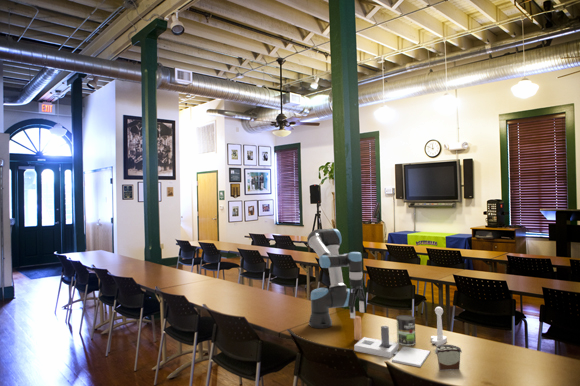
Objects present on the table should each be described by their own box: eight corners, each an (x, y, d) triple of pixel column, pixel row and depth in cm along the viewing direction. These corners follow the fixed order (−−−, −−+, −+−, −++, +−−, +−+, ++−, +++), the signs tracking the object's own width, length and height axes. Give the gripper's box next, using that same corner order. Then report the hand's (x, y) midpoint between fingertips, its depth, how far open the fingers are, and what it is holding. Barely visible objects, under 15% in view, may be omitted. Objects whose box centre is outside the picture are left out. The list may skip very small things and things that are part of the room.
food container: (456, 364, 190) (455, 343, 190) (462, 369, 183) (461, 348, 184) (431, 365, 189) (430, 344, 189) (436, 370, 183) (436, 349, 183)
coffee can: (419, 344, 216) (418, 319, 216) (403, 346, 213) (402, 321, 214) (409, 338, 226) (408, 314, 226) (393, 340, 223) (392, 316, 224)
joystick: (439, 346, 213) (437, 309, 213) (426, 342, 218) (425, 307, 219) (448, 340, 220) (447, 305, 220) (436, 337, 226) (434, 303, 226)
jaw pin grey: (380, 352, 207) (379, 327, 207) (383, 349, 211) (382, 325, 211) (388, 353, 205) (387, 328, 205) (390, 350, 208) (389, 326, 209)
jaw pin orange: (353, 339, 226) (352, 317, 227) (356, 337, 230) (355, 315, 230) (360, 340, 224) (359, 318, 225) (362, 338, 228) (361, 316, 228)
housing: (354, 350, 210) (354, 345, 210) (364, 342, 222) (364, 337, 222) (390, 357, 199) (390, 352, 199) (398, 348, 211) (398, 343, 211)
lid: (388, 360, 196) (387, 358, 196) (399, 347, 213) (399, 345, 213) (420, 367, 187) (420, 365, 187) (430, 352, 204) (430, 350, 204)
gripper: (353, 283, 215) (354, 321, 215) (369, 275, 236) (371, 310, 235) (341, 282, 219) (342, 319, 219) (358, 274, 240) (359, 309, 240)
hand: (357, 315), depth 227 cm, fingers open, 13 cm apart
